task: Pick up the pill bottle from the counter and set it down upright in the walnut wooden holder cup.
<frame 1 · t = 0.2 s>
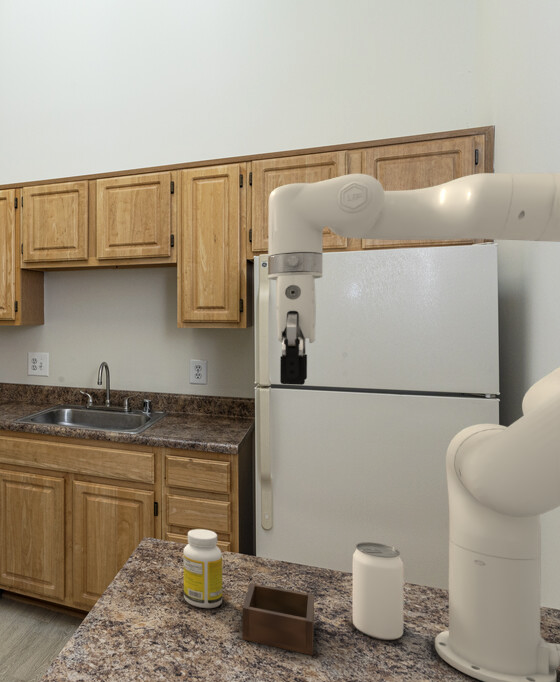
hand: (294, 381, 85), 37 cm above the counter, tool pointing down, fingers open, 9 cm apart
holder: (279, 631, 82), on the counter
pill bottle: (202, 601, 92), on the counter
can: (377, 631, 83), on the counter
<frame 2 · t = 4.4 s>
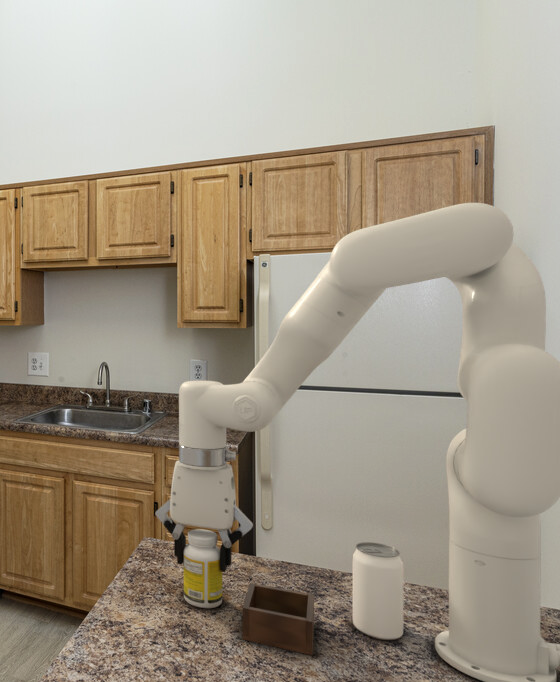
hand: (202, 564, 92), 6 cm above the counter, tool pointing down, fingers closed on pill bottle, 6 cm apart
pill bottle: (202, 601, 92), on the counter, touching gripper
everything else where it was.
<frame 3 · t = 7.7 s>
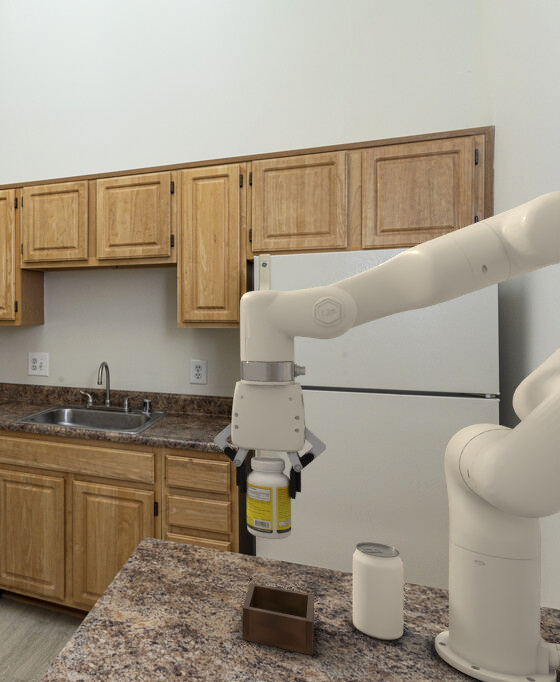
hand: (268, 492, 83), 20 cm above the counter, tool pointing down, fingers closed on pill bottle, 6 cm apart
pill bottle: (268, 534, 84), point 14 cm above the counter, touching gripper
everything else where it was.
when the fingers open (7 cm above the counter, at t = 11.3 s): pill bottle stays where it is, resting on holder.
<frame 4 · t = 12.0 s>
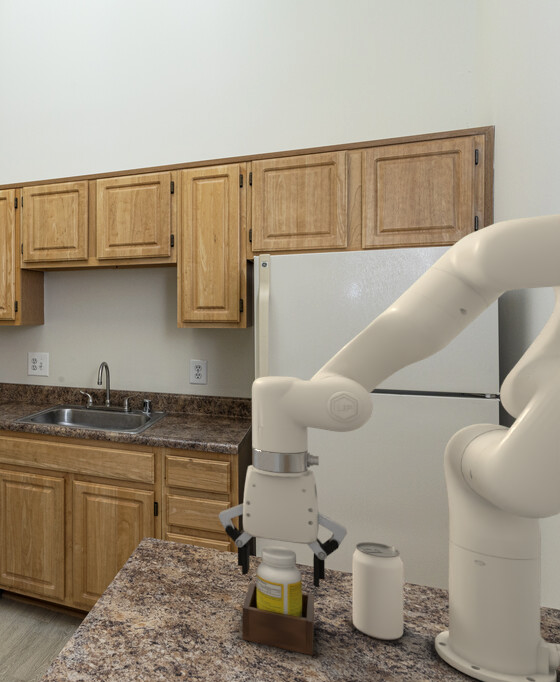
hand: (280, 577, 82), 8 cm above the counter, tool pointing down, fingers open, 9 cm apart
pill bottle: (279, 627, 82), point 1 cm above the counter, touching holder
everything else where it was.
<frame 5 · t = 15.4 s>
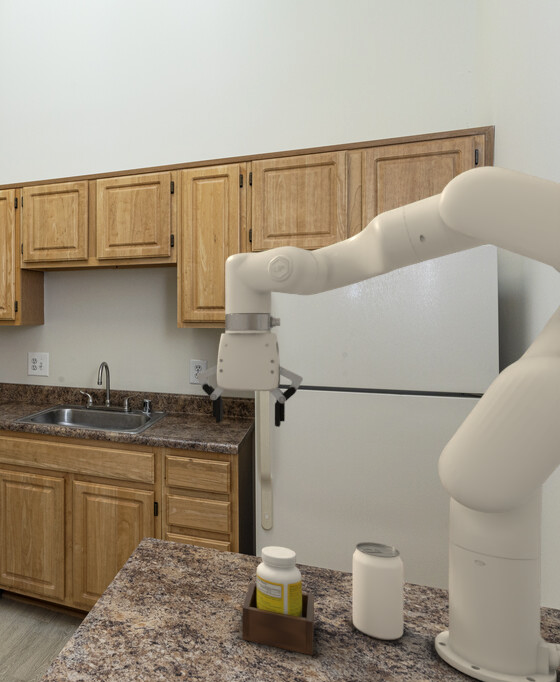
hand: (247, 423, 97), 28 cm above the counter, tool pointing down, fingers open, 9 cm apart
nothing on the counter moved.
at the end: pill bottle 0.0 cm off-centre in the holder, point 0.6 cm above the holder's base; pill bottle tilted 0° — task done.
